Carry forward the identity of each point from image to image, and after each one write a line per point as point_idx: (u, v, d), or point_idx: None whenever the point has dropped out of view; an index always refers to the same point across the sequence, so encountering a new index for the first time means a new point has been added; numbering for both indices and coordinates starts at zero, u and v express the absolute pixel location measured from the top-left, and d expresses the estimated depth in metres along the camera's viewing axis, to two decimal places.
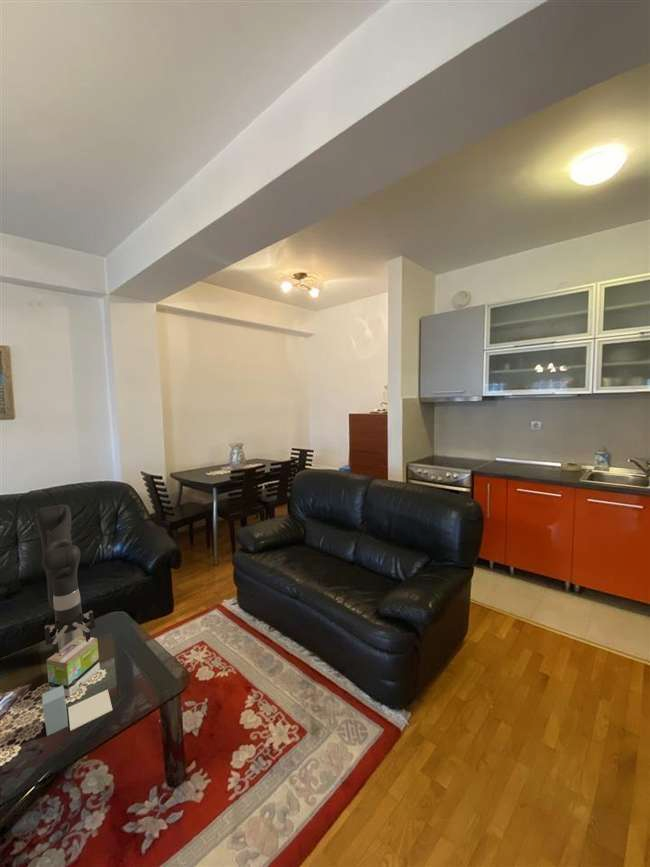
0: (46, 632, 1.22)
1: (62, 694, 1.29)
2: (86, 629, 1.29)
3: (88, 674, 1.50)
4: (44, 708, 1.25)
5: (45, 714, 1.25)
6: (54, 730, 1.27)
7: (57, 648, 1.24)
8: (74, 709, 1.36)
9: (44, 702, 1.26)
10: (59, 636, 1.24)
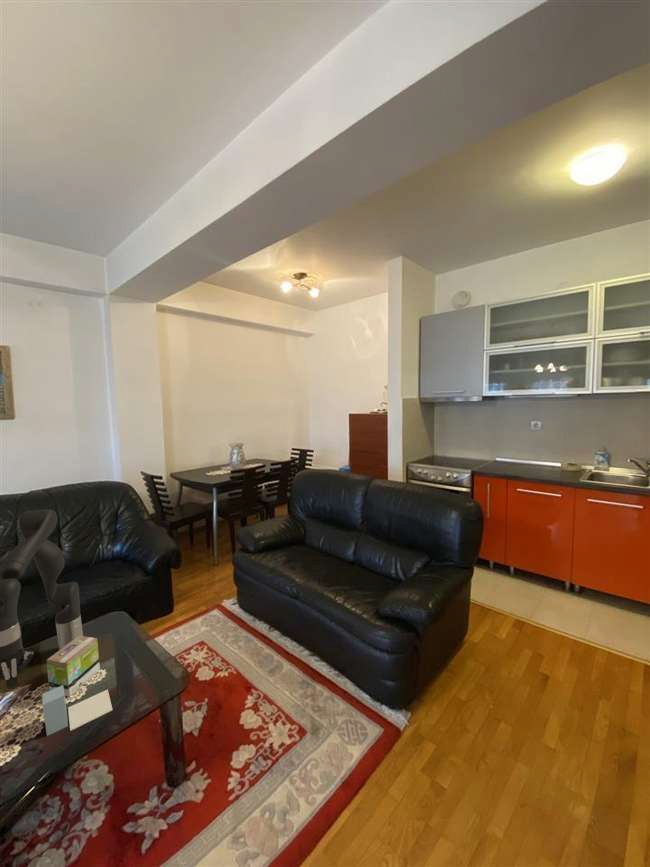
0: None
1: (62, 694, 1.29)
2: (12, 674, 1.21)
3: (88, 674, 1.50)
4: (44, 708, 1.25)
5: (45, 714, 1.25)
6: (54, 730, 1.27)
7: (10, 683, 1.20)
8: (74, 709, 1.36)
9: (44, 702, 1.26)
10: (6, 672, 1.19)
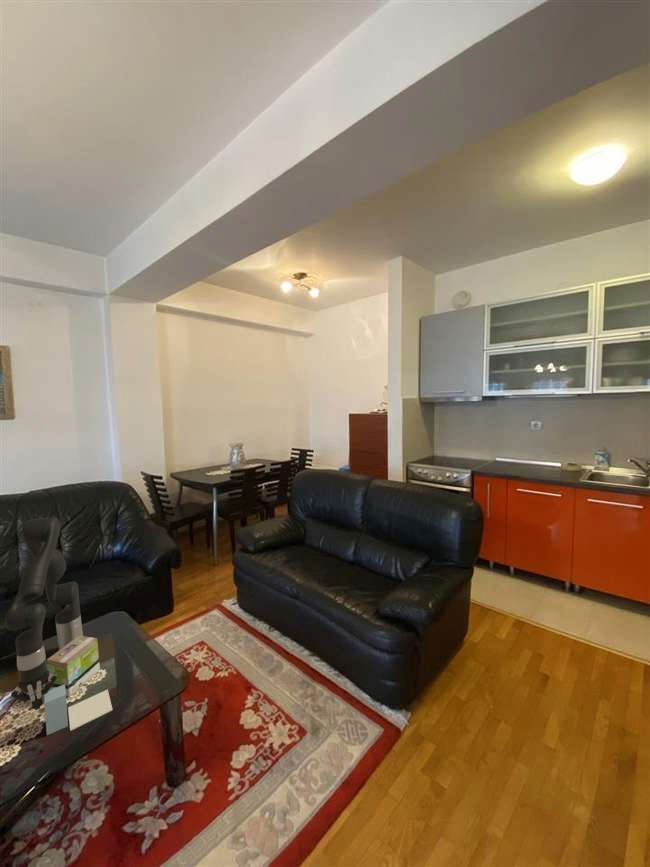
0: (15, 696, 1.21)
1: (64, 693, 1.29)
2: (37, 695, 1.25)
3: (88, 674, 1.50)
4: (46, 707, 1.25)
5: (46, 713, 1.26)
6: (54, 730, 1.27)
7: (35, 704, 1.25)
8: (74, 709, 1.36)
9: (46, 701, 1.26)
10: (31, 694, 1.24)
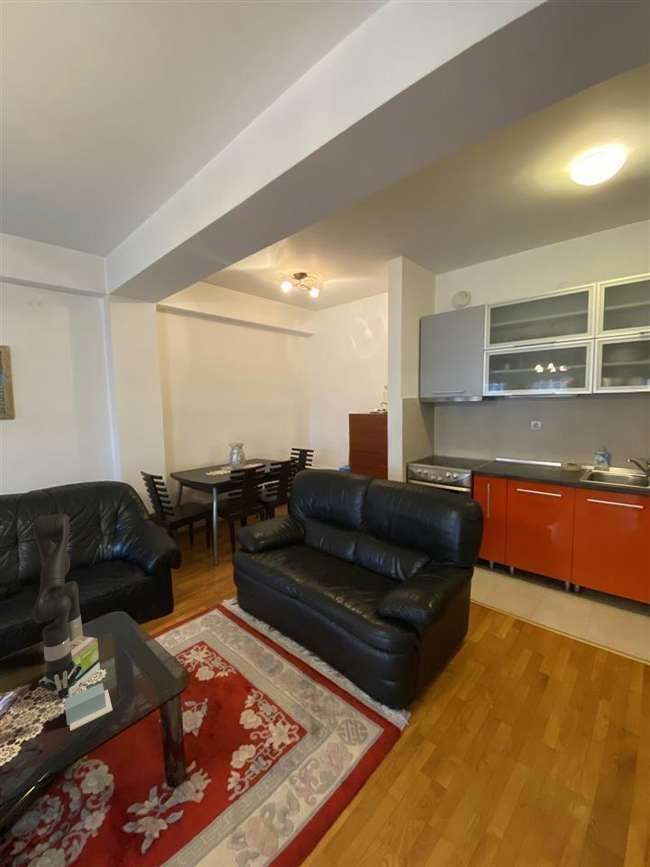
0: (42, 686, 1.26)
1: (105, 704, 1.38)
2: (64, 685, 1.30)
3: (88, 674, 1.50)
4: (99, 695, 1.35)
5: (92, 698, 1.34)
6: (68, 714, 1.30)
7: (62, 694, 1.30)
8: None
9: (104, 692, 1.37)
10: (58, 683, 1.28)
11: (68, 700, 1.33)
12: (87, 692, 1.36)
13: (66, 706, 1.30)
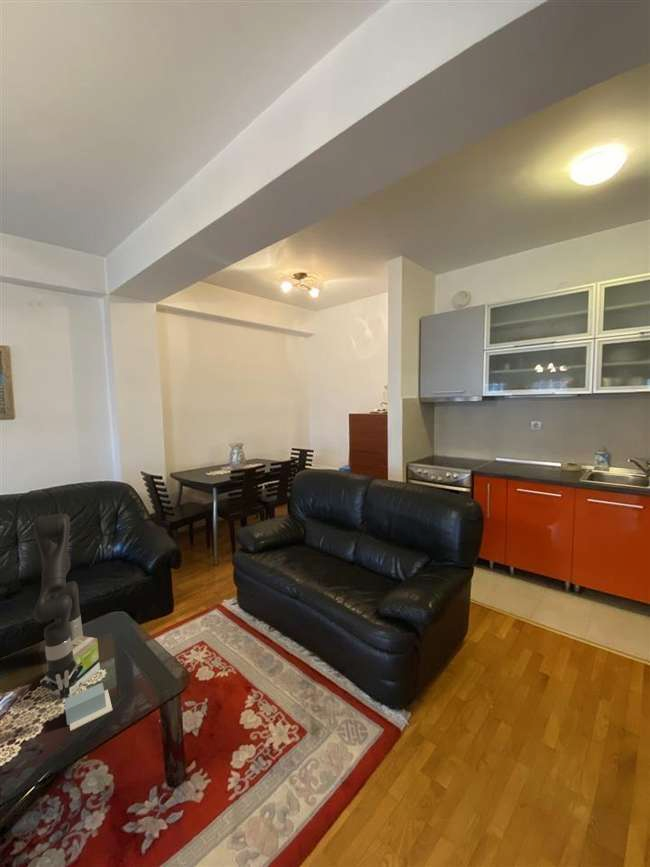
0: (44, 685, 1.26)
1: (105, 704, 1.38)
2: (65, 684, 1.30)
3: (88, 674, 1.50)
4: (99, 695, 1.35)
5: (92, 698, 1.34)
6: (68, 714, 1.30)
7: (63, 693, 1.30)
8: None
9: (104, 692, 1.37)
10: (59, 683, 1.28)
11: (68, 700, 1.33)
12: (87, 692, 1.36)
13: (66, 706, 1.30)
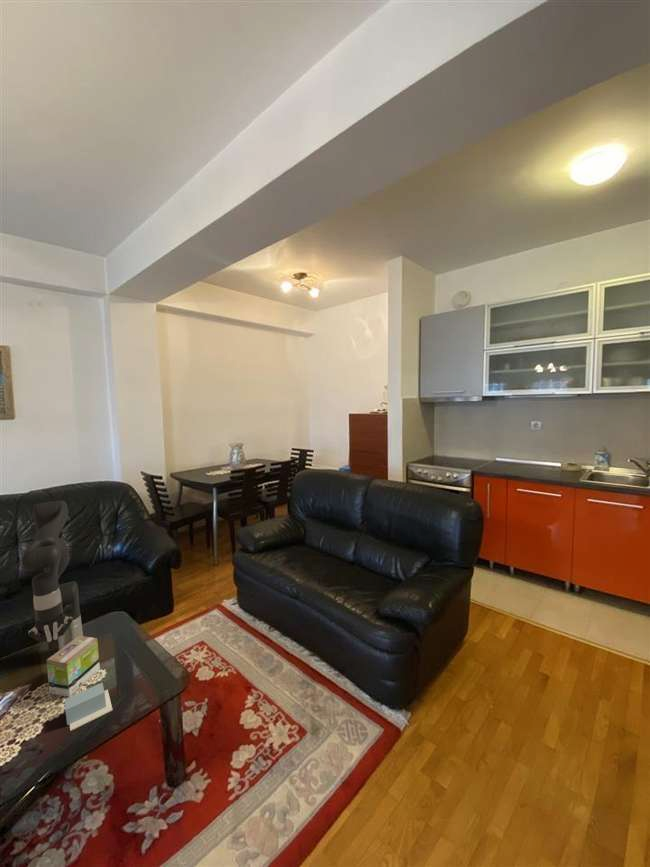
0: (32, 636, 1.23)
1: (105, 704, 1.38)
2: (54, 637, 1.27)
3: (88, 674, 1.50)
4: (99, 695, 1.35)
5: (92, 698, 1.34)
6: (68, 714, 1.30)
7: (52, 645, 1.27)
8: None
9: (104, 692, 1.37)
10: (48, 634, 1.25)
11: (68, 700, 1.33)
12: (87, 692, 1.36)
13: (66, 706, 1.30)
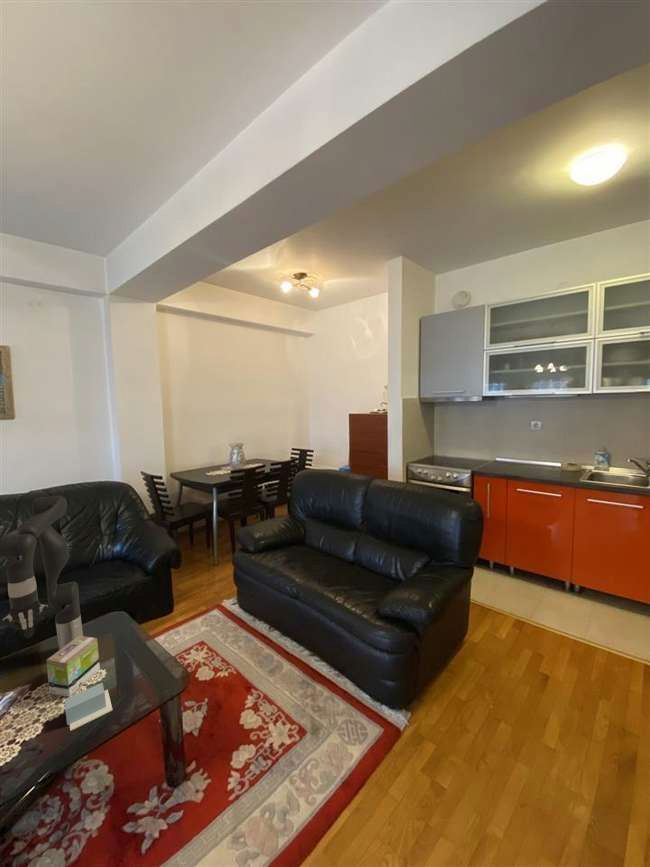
0: (6, 623, 1.24)
1: (105, 704, 1.38)
2: (29, 624, 1.28)
3: (88, 674, 1.50)
4: (99, 695, 1.35)
5: (92, 698, 1.34)
6: (68, 714, 1.30)
7: (27, 633, 1.28)
8: None
9: (104, 692, 1.37)
10: (23, 622, 1.26)
11: (68, 700, 1.33)
12: (87, 692, 1.36)
13: (66, 706, 1.30)
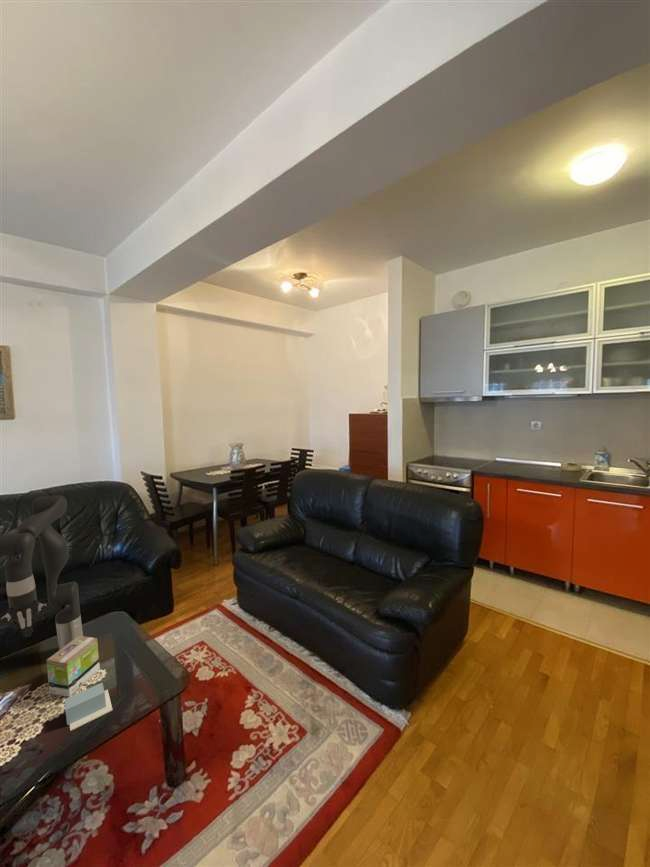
0: (5, 622, 1.24)
1: (105, 704, 1.38)
2: (27, 623, 1.28)
3: (88, 674, 1.50)
4: (99, 695, 1.35)
5: (92, 698, 1.34)
6: (68, 714, 1.30)
7: (26, 632, 1.27)
8: None
9: (104, 692, 1.37)
10: (21, 621, 1.26)
11: (68, 700, 1.33)
12: (87, 692, 1.36)
13: (66, 706, 1.30)
